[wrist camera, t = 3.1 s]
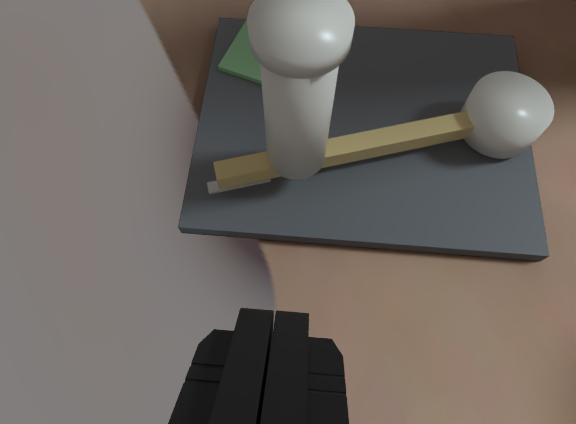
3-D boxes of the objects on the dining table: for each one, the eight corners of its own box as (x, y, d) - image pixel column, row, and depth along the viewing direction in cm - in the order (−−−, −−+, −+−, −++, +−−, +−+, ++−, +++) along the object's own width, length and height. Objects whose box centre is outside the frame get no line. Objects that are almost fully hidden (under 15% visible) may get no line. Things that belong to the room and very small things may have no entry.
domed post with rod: (513, 90, 25) (638, -83, 16) (546, 150, 23) (704, -5, 14) (212, 150, 23) (166, -5, 14) (225, 218, 21) (183, 92, 13)
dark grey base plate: (221, 27, 28) (218, 13, 27) (507, 45, 27) (516, 32, 26) (181, 233, 22) (176, 224, 21) (540, 261, 22) (552, 254, 21)
